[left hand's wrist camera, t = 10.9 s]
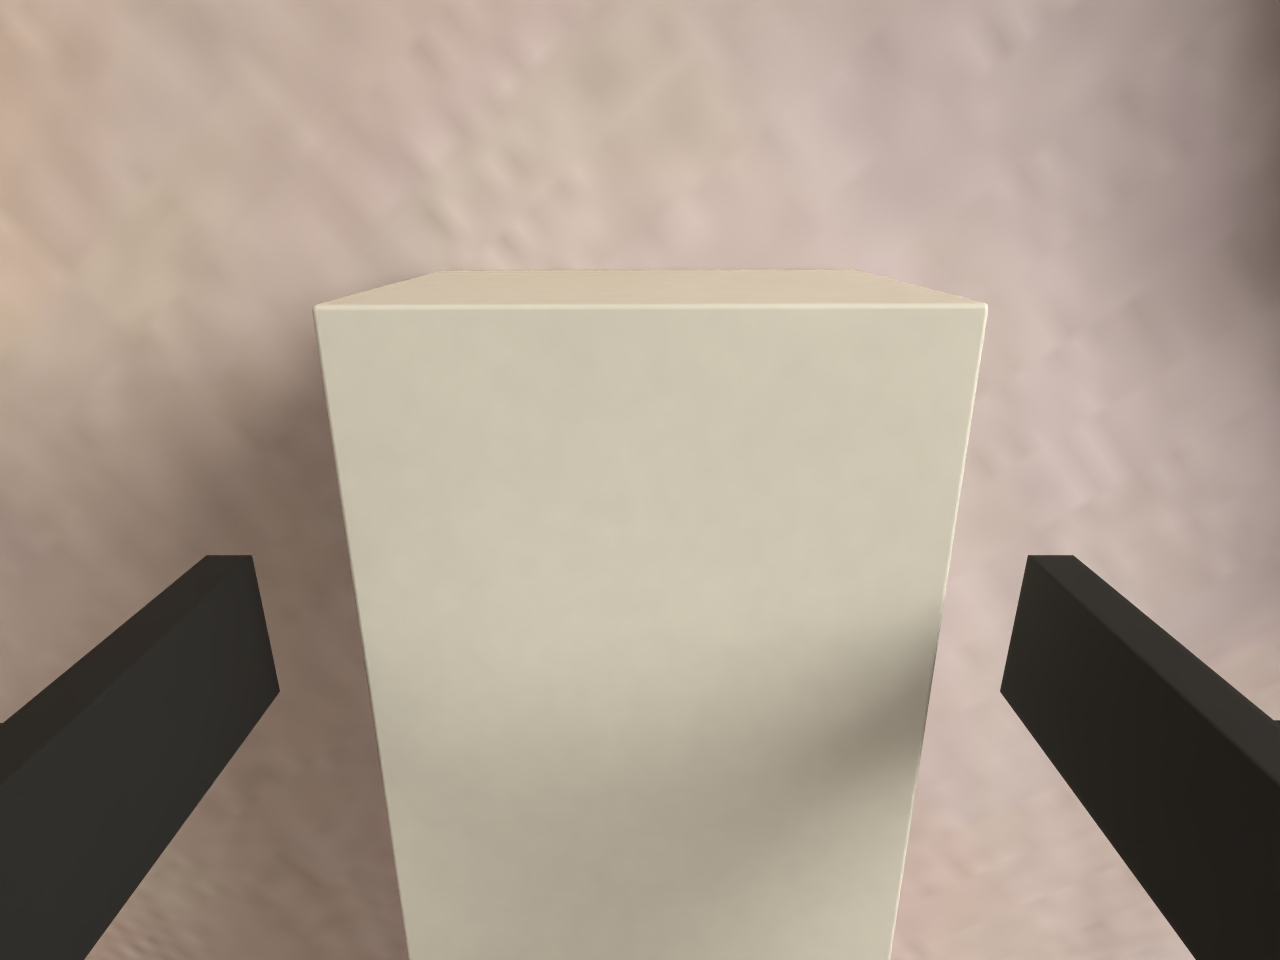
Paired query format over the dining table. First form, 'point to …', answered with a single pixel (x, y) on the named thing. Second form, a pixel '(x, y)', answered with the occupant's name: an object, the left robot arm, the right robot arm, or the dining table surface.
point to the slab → (649, 598)
